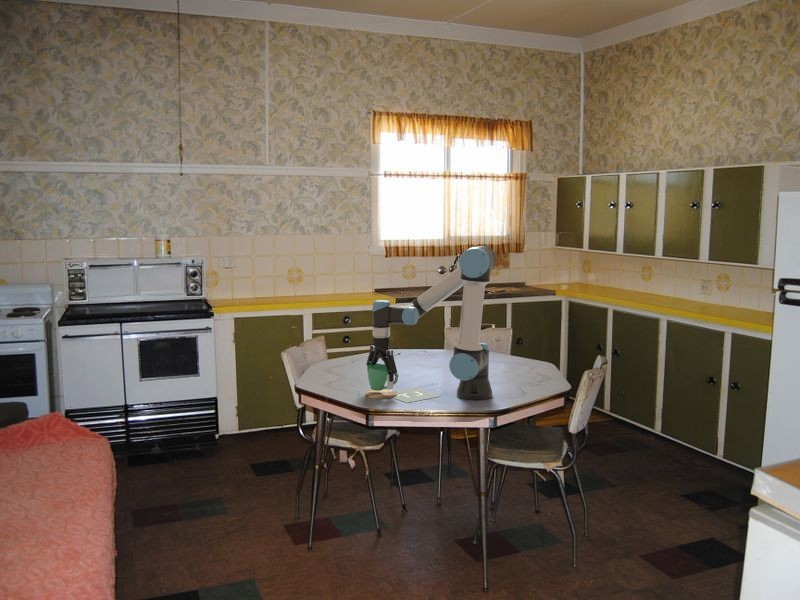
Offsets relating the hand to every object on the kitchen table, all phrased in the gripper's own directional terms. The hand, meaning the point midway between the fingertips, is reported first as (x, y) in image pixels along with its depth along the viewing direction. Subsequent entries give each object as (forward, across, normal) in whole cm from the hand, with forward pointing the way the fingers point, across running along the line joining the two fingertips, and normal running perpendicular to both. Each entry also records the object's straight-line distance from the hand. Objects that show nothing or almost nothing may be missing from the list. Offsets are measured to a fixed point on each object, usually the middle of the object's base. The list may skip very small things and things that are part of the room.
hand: (381, 385), depth 315 cm
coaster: (+4, 0, 0) cm, 4 cm away
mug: (+2, 0, 0) cm, 2 cm away
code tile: (+4, -8, -10) cm, 13 cm away
